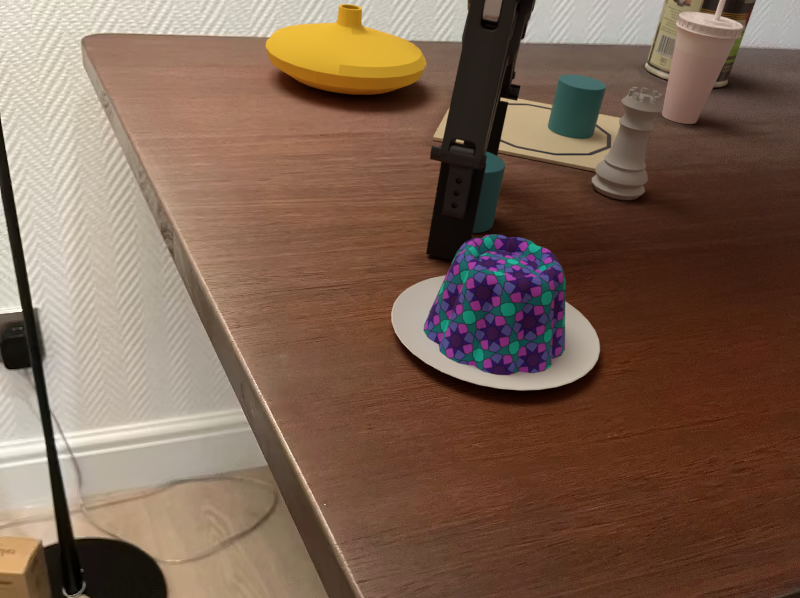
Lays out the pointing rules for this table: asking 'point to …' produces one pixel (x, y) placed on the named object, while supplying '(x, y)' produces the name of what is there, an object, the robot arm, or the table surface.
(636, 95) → the rook chess piece
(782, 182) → the table surface
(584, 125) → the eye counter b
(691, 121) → the smoothie
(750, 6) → the coffee can
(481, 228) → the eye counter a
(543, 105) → the sheet
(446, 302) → the pudding
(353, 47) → the vase
